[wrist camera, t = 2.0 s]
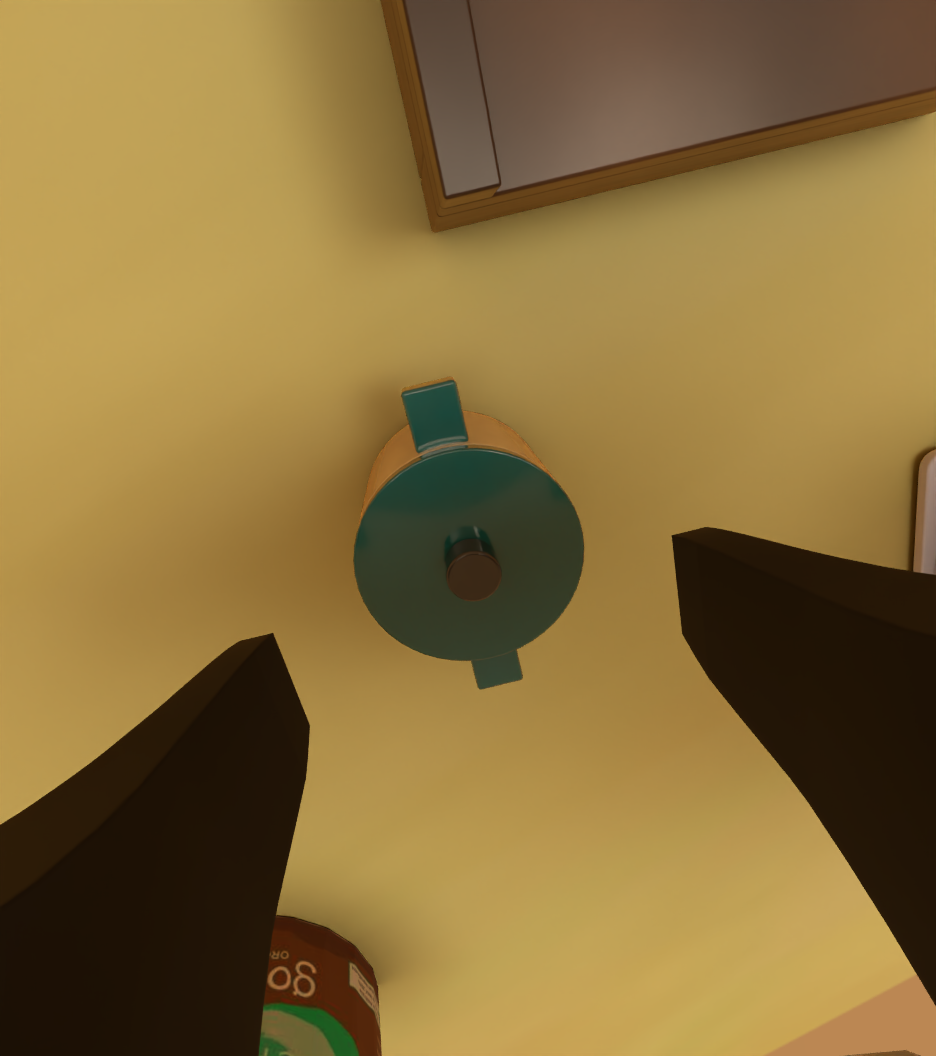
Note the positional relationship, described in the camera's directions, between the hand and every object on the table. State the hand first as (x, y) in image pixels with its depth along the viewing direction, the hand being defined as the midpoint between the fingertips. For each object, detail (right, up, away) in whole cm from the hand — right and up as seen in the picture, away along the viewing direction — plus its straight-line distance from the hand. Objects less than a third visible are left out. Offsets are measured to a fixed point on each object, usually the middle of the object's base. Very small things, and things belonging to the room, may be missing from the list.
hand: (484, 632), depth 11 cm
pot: (-1, +3, +7) cm, 8 cm away
